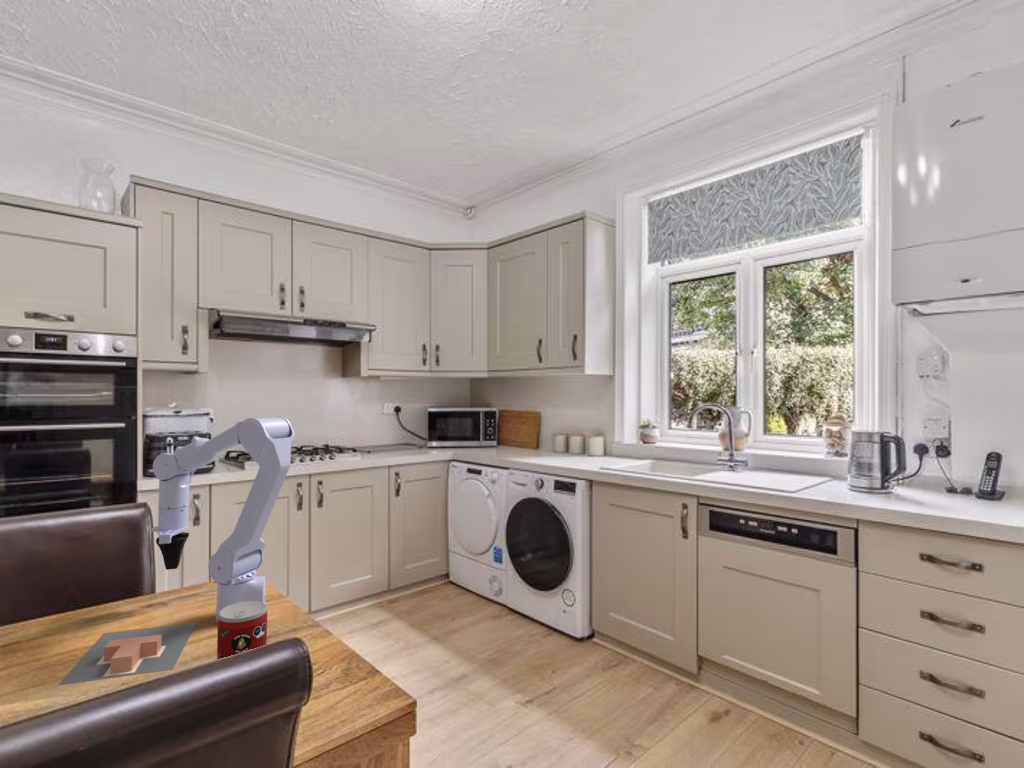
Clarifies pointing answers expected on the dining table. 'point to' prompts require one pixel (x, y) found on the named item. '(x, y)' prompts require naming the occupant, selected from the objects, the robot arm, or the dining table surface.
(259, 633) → the canned food
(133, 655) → the t block
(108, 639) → the board
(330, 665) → the dining table surface
